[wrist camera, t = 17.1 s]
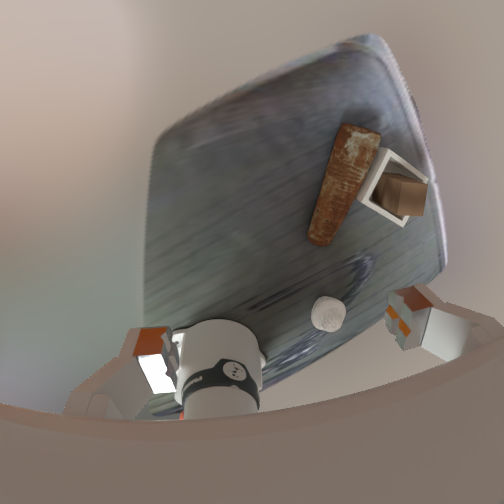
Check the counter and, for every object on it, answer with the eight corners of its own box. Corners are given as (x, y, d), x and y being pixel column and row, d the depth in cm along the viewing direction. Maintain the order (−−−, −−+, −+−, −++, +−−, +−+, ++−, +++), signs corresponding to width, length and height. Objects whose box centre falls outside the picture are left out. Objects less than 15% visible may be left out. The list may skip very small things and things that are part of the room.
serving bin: (387, 217, 46) (403, 227, 42) (347, 194, 44) (361, 202, 39) (411, 172, 43) (428, 178, 39) (372, 145, 41) (388, 148, 36)
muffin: (319, 323, 53) (330, 347, 47) (299, 305, 51) (308, 330, 45) (345, 301, 52) (359, 324, 46) (325, 282, 50) (339, 304, 43)
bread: (371, 135, 41) (390, 138, 36) (326, 244, 47) (338, 259, 42) (337, 118, 39) (352, 117, 34) (291, 233, 46) (299, 247, 41)
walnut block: (395, 201, 44) (422, 216, 37) (371, 200, 44) (397, 215, 36) (398, 173, 42) (427, 184, 35) (374, 171, 42) (401, 181, 34)
